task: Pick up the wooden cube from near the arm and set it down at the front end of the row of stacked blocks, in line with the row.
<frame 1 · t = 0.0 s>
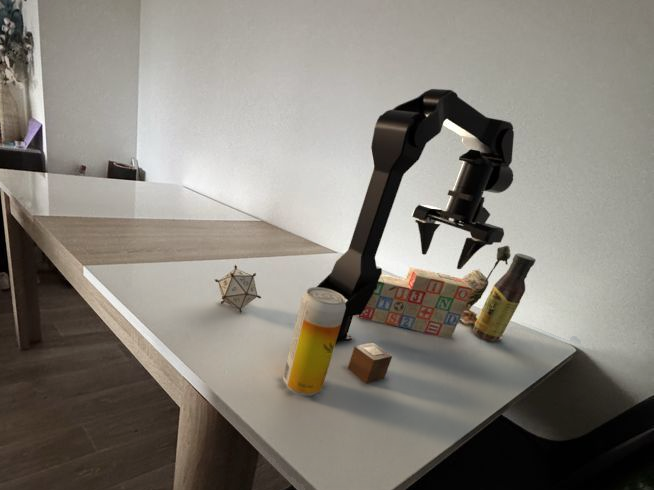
hand: (440, 261, 86), 15 cm above the table, tool pointing down, fingers open, 9 cm apart
plant with pod: (460, 318, 100), on the table
beer can: (301, 386, 59), on the table
game die: (235, 307, 80), on the table
stack of blocks: (401, 323, 90), on the table
sauce bottle: (485, 337, 92), on the table
wooden cube: (365, 373, 66), on the table
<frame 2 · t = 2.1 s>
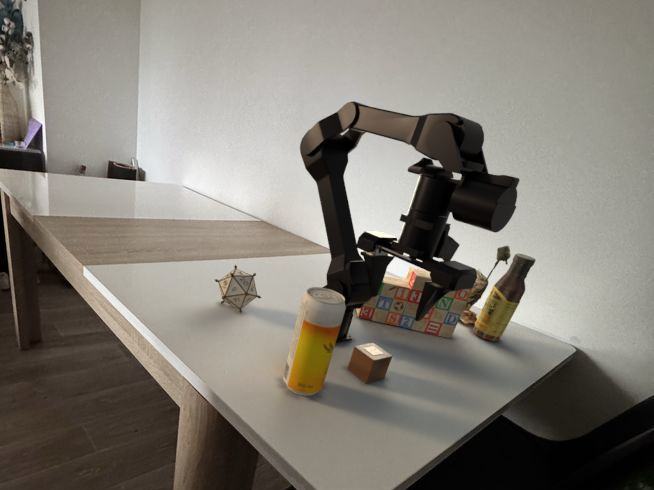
hand: (394, 307, 64), 11 cm above the table, tool pointing down, fingers open, 9 cm apart
nothing on the table moved.
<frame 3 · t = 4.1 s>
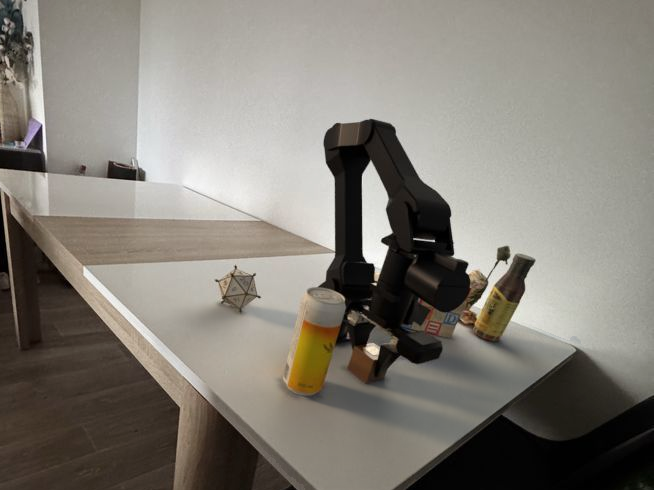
hand: (367, 368, 65), 1 cm above the table, tool pointing down, fingers closed on wooden cube, 4 cm apart
wooden cube: (365, 373, 66), on the table, touching gripper
everything else where it was.
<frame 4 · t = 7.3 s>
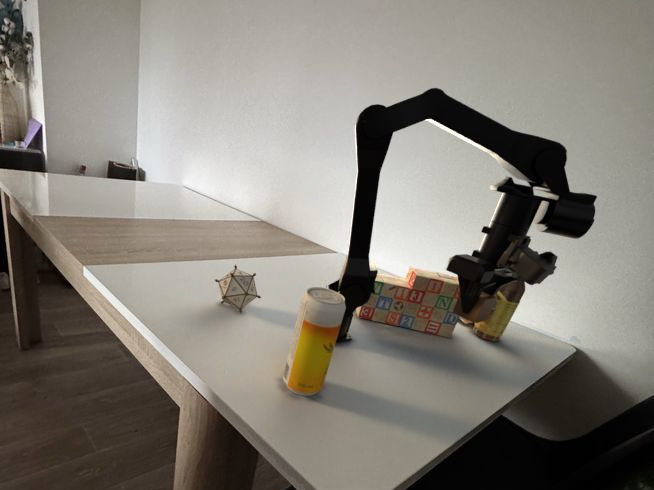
hand: (471, 311, 70), 11 cm above the table, tool pointing down, fingers closed on wooden cube, 4 cm apart
wooden cube: (469, 316, 71), point 10 cm above the table, touching gripper
everything else where it was.
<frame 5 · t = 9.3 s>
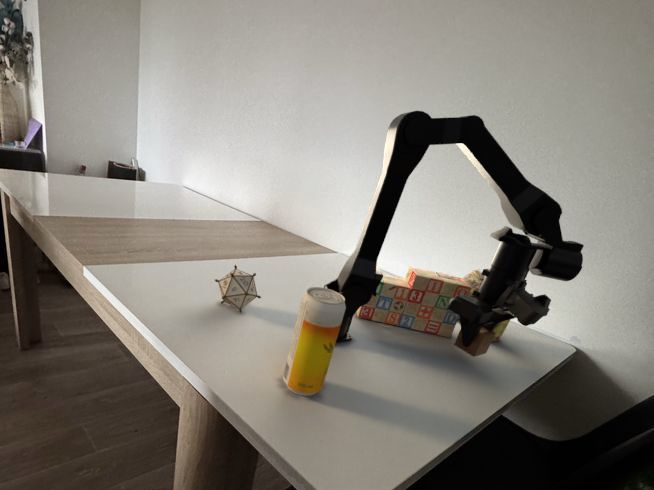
hand: (471, 344, 76), 4 cm above the table, tool pointing down, fingers closed on wooden cube, 4 cm apart
wooden cube: (469, 349, 77), point 3 cm above the table, touching gripper
everything else where it was.
when the fingers open (1 cm above the table, at t = 10.5 s): wooden cube stays where it is, on the table.
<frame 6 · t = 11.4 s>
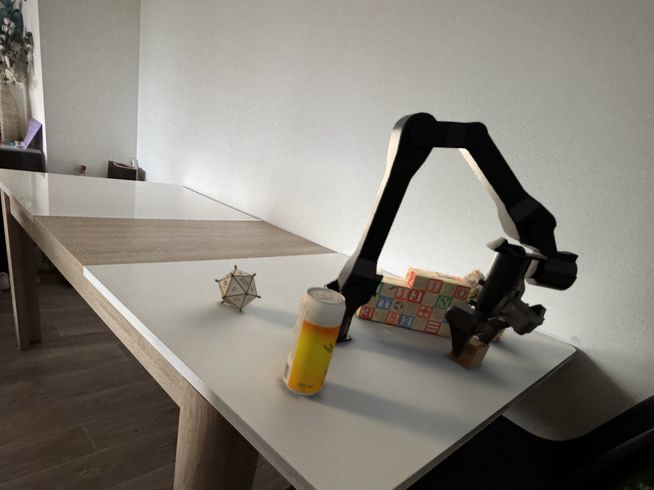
hand: (468, 352, 77), 2 cm above the table, tool pointing down, fingers open, 9 cm apart
wooden cube: (464, 361, 78), on the table
everything else where it was.
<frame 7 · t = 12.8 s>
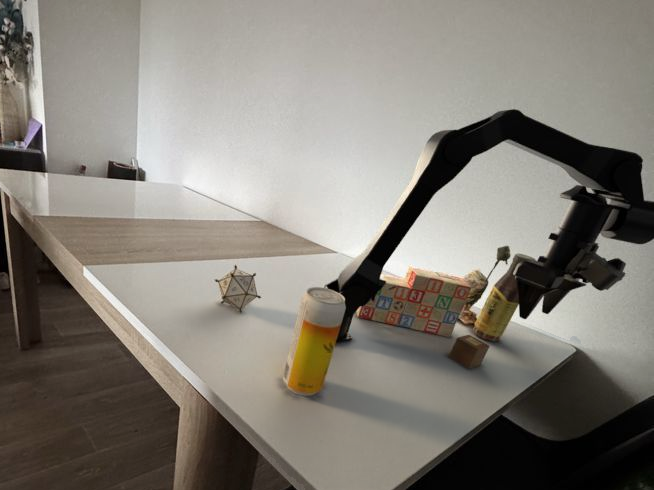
hand: (534, 315, 72), 12 cm above the table, tool pointing down, fingers open, 9 cm apart
nothing on the table moved.
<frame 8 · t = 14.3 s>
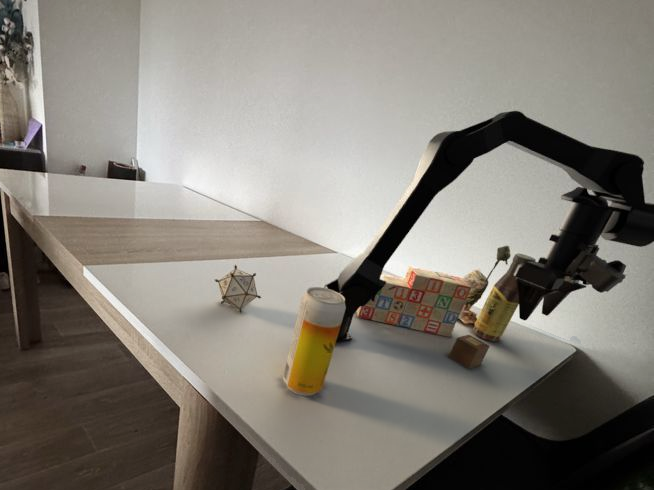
hand: (534, 317, 72), 12 cm above the table, tool pointing down, fingers open, 9 cm apart
nothing on the table moved.
at the end: wooden cube 0.9 cm from the target spot on the table beside the stack of blocks, on the table; wooden cube 16.9 cm from the stack of blocks (horizontally); wooden cube tilted 0° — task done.
